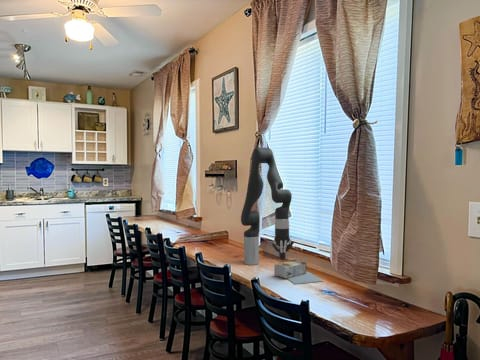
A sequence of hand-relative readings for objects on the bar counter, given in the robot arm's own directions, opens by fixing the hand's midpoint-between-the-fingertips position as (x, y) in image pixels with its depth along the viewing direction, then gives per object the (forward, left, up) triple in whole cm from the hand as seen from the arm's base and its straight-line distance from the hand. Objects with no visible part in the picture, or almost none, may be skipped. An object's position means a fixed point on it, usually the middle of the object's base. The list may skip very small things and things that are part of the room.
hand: (282, 259), depth 194 cm
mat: (0, +11, -11) cm, 16 cm away
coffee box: (-4, 0, -7) cm, 8 cm away
